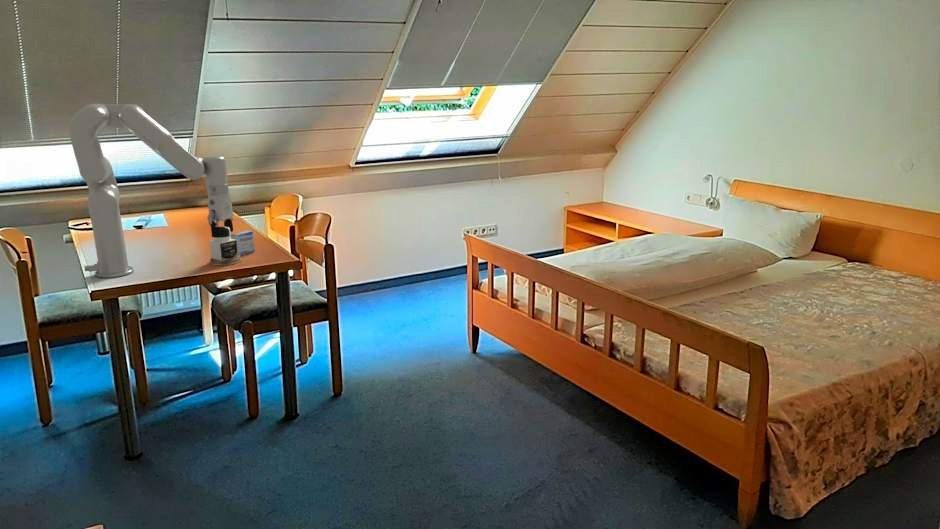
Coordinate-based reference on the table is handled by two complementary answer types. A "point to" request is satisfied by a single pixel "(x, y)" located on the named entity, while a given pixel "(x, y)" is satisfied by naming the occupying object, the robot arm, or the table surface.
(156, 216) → the table surface
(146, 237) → the table surface
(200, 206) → the table surface
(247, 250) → the medicine box
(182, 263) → the table surface
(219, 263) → the grey flat disc
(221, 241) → the medicine bottle
